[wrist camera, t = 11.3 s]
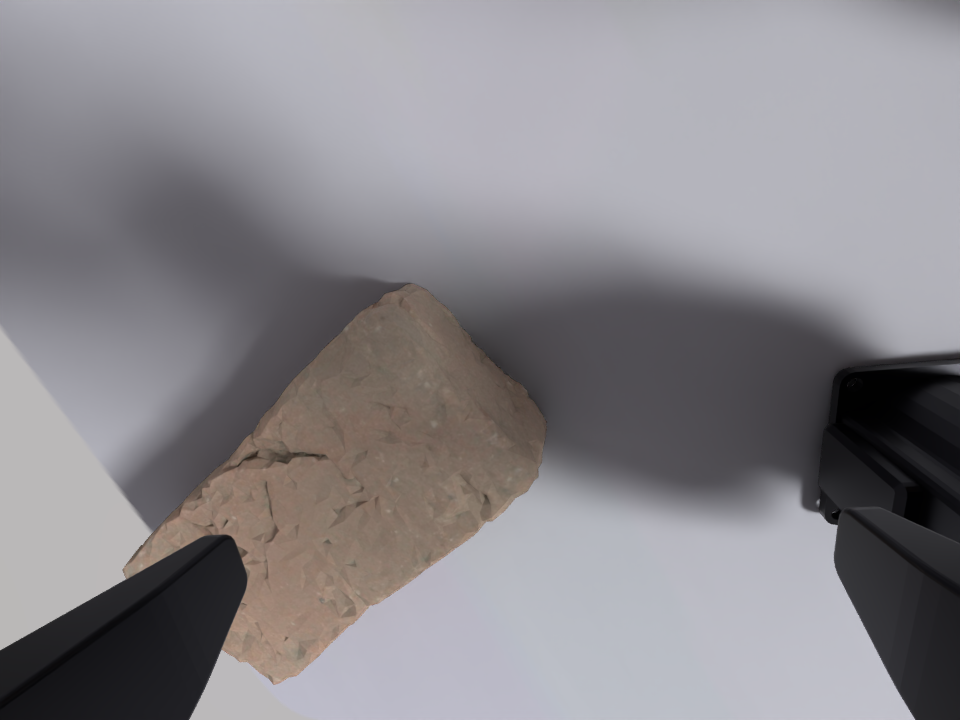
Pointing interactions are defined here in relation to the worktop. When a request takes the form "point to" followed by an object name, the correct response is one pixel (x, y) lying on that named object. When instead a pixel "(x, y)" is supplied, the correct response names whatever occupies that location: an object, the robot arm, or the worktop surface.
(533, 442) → the brick
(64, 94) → the worktop surface
